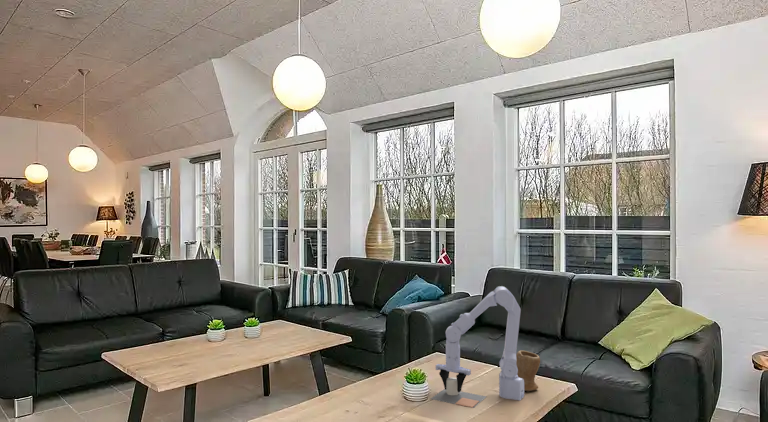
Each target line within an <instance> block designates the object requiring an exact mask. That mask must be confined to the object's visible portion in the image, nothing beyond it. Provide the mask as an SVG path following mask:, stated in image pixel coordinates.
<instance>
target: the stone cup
mask: <svg viewBox="0 0 768 422" xmlns="http://www.w3.org/2000/svg"><path fill="white" fill-rule="evenodd" d="M516 360H517V361H516V365H517V368H518V373H517V375H518V377H519V378H522V379H524V392H525V391H530V392H531V391H536V390H538V389H539V385H538V384H537V383H536V382H535V378H536V375H537V372H538V370H539V368H540V365H541V358H540V356H539V355H538V354H536V353H535V352H531V351H528V350H523V349H522V350H521V349H520V350H518V351H516Z"/></svg>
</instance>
